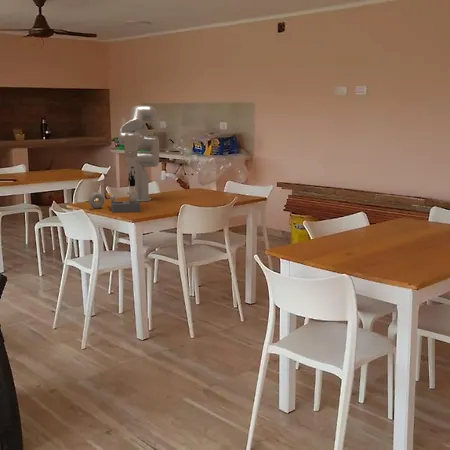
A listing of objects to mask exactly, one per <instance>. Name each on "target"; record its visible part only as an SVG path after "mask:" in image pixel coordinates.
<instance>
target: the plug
mask: <svg viewBox="0 0 450 450" xmlns="http://www.w3.org/2000/svg"><path fill="white" fill-rule="evenodd" d="M126 194H127V195H128V198H129V199H128V201H129V202H130V203H135V195H136V194H137V192H136V191H135V186H130V181H129V184H128V191H127V192H126Z"/></svg>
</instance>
